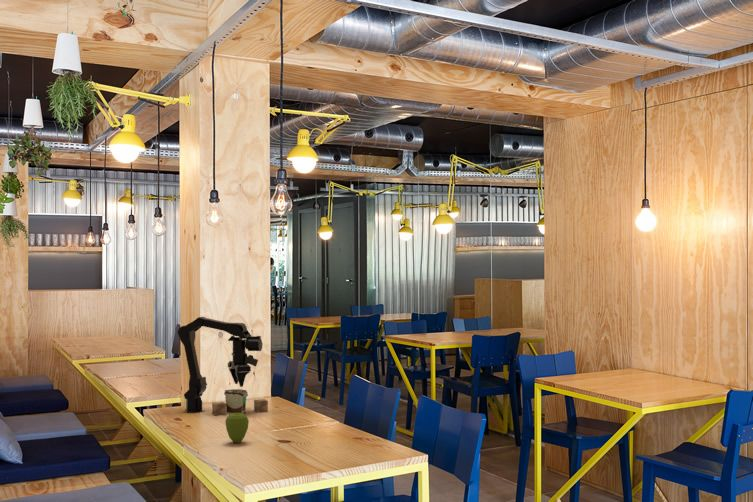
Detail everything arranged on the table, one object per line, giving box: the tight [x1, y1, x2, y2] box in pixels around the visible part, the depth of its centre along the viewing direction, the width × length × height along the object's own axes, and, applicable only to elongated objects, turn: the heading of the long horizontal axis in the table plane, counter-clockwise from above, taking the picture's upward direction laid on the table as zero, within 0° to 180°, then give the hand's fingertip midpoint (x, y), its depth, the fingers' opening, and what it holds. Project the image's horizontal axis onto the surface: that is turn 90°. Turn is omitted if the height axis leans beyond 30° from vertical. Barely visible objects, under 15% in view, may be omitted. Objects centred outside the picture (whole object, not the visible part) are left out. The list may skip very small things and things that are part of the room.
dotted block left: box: [211, 401, 227, 417], centre depth 321 cm, size 5×5×5 cm
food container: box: [223, 388, 249, 415], centre depth 325 cm, size 12×6×10 cm, turn 58°
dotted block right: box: [253, 398, 269, 413], centre depth 328 cm, size 5×5×5 cm
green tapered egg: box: [224, 412, 250, 444], centre depth 268 cm, size 9×8×12 cm
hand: (238, 385), depth 325 cm, fingers open, 9 cm apart
